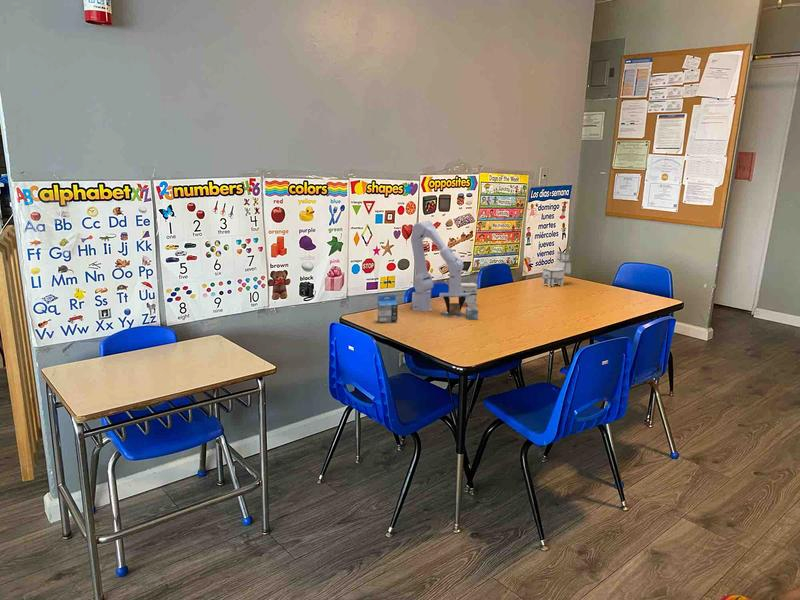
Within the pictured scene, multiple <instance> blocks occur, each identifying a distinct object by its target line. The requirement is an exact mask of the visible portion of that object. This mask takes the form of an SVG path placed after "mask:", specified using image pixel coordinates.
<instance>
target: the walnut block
mask: <svg viewBox="0 0 800 600" xmlns="http://www.w3.org/2000/svg"><path fill="white" fill-rule="evenodd" d="M458 303H459V302H451V303H449V312H448V314H449V316H460V312H461V311H460V305H459V304H458Z"/></svg>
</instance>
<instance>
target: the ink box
mask: <svg viewBox="0 0 800 600" xmlns="http://www.w3.org/2000/svg"><path fill="white" fill-rule="evenodd" d="M460 292H461V293H469V298H467V297H465V301H464V303H463V305H462V308H463V307H464V308H466V307H476V308H477V299H478V298H477V297H478V284H477V283H476V282H461V291H460ZM457 303H458V304H459V302H457Z"/></svg>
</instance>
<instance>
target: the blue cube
mask: <svg viewBox="0 0 800 600" xmlns="http://www.w3.org/2000/svg"><path fill="white" fill-rule="evenodd" d="M464 316H465V317H464V318H466V320H467V321H473V320H474V321H475V320H477V321H478V319H479V309H478V308H477V306H476V307H465V315H464Z"/></svg>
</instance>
